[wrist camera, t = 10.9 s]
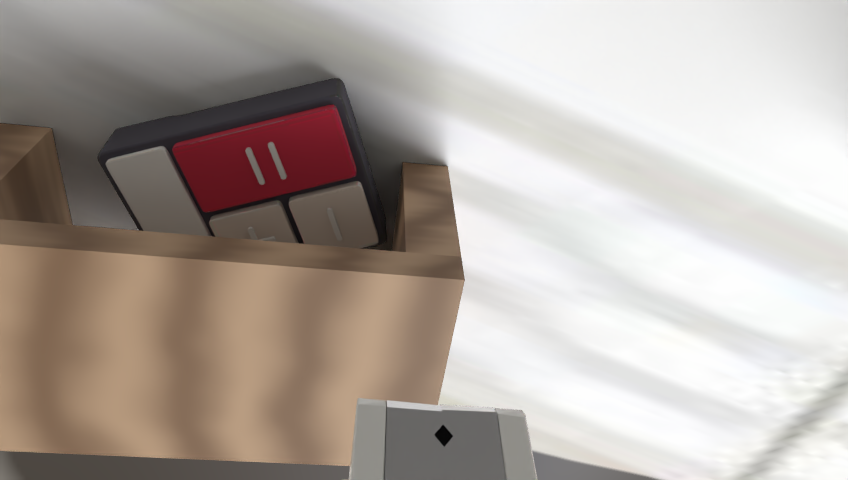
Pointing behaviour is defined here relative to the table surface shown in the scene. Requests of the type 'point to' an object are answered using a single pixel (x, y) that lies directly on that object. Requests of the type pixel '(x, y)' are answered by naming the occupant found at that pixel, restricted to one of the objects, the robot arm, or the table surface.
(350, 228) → the calculator
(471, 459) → the robot arm
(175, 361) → the monitor riser
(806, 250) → the table surface
